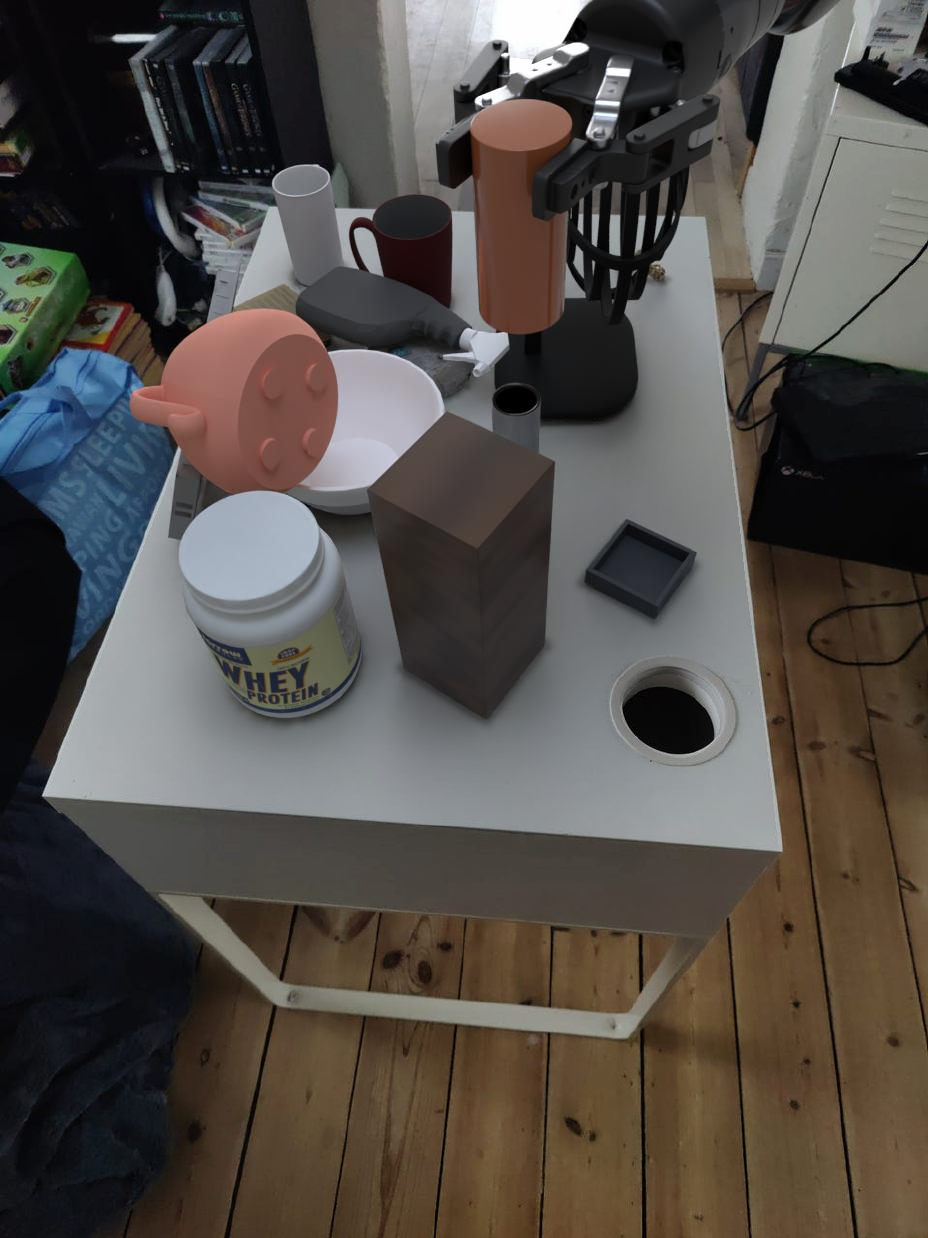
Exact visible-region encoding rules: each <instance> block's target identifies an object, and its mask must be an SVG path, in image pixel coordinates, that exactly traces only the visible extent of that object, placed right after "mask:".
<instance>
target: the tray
mask: <svg viewBox="0 0 928 1238" xmlns="http://www.w3.org/2000/svg"><path fill="white" fill-rule="evenodd" d="M697 554H698V553H697V551H695V550H693V549H691V548H689V547H687V546H685V545H684V544H681V543H679V542H677V541H675V540H672V539H671V538H668V537H667V536H664V535H662V534H660V533H658V532H656V531H654V530H652V529H649V528H647V527H645V526H644V525H641V524H639V523H637V522H635V521H633V520H631V519H629V518H625V519H624V521H623V522H621V525H620V526H619V527H618V528H617V529H616V530H615V532H614V533H613V535H612V536H611V537H610V539H608V541H607V542H606V544H605V545H604V546H603V547H602V549H601V550H600V551H599V552H598V553H597V555H596V556H595V557H594V559H593V560H592V562H590V564H589V565H588V566H587V568H586V569H585V574H584V584H586V585H588V586H590V587H592V588H593V589H596V590H597V591H599V592H601V593H603V594H605V595H607V596H609V597H611V598H613V599H615V600H617V601H618V602H620V603H622V604H624V605H627V606H628V607H630V608H632V609H634V610H636V611H638V612H640V613H642V614H644V615H645V616H648V617H649V618H651V619H653V620H656V618H657V617H658V616H659V615H660V613H661V611H662V610H663V609H664V608H665V607H666V604H667V603H668V602H669V600H670V599H671V598H672V596H673V595H674V594H675V592H676V590H677V589H678V588H679V586H680V585H681V583H682V582H683V580H684V579H685V578H686V576H687V575H688V573H689V572H690V571H691V569H692V568H693V567H694V564H695V561H696V560H695V559H696V558H697Z"/></svg>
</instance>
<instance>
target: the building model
mask: <svg viewBox="0 0 928 1238" xmlns="http://www.w3.org/2000/svg"><path fill="white" fill-rule="evenodd" d="M242 258H243V253H242V252H239V256H238V260H237V266H236V271H230V270H226V269H223V268H218V269H217V273H216V278H215V283H214V287H213V292H212V296H211V301H210V305H209V310H208V315H207V320H206V324H207V323H209V322H210V321H212V320H214V319H216V318H218V317H221V316H223V315H226V314H229V313H233V308H234V307H235V301H236V295H237V288H238V283H239V276H240V270H241V265H242V260H243V259H242ZM179 453H180V454H179V459H178V461H177V462H178V463H177V468H176V472H175V478H174V484H173V485H174V486H173V493H172V502H171V509H170V510H171V511H170V518H169V527H168V534H167V538H168V539H173V540H178V541H181V539H182V537H183V535H184V533H185V531H186V529H187V528H188V526H189V525H190V523H191V522H192V521H193V520H194V519H195V518H196V514H197V509H198V503H199V499H200V494H201V488H202V484H203V479H204V476H203V475H202V474H201V473H200V472H199V471H198V470H197V469H196V468H195V467H194V466H193V465H192V464H191V463H190V462H189V460H188V459H187V458H186V456H185V455H184V454H183V452H182V451H181V450H180V452H179Z"/></svg>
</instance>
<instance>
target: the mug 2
mask: <svg viewBox="0 0 928 1238" xmlns="http://www.w3.org/2000/svg"><path fill="white" fill-rule="evenodd" d="M359 228H362V229H366V230H368V231H369V232H371V234H372V236H373V237H374V240H375V245H376V249H377V254H378V258H379V262H380V267H381V271H382V276H384V277H387V278H390V279H392V280H395V281H398V282H401V283H403V284H406V285H409V286H411V287H413V288H415V289H417V290H419V291H421V292H423V293H425V294H427V295H429V296H431V297H433V298H434V299H435V300H437V301H438V302H439V303H440V304H442V305H443V306H445V307H446V308H448V309H449V308H450V306H451V304H452V286H453V285H452V284H453V243H454V242H453V239H454V238H453V236H454V235H453V212H452V209H451V207H450V206H449V205H448V203H446V202H445V201H444V200H443V199H440V198H438V197H435V196H432V195H428V194H406V195H401V196H397V197H394V198H391V199H388V200H386V201H385V202H383V203H381V204H380V205H379V206H378V207H377V208H376V209H375V211H374V213H373V214H372V220H371V219H370V218H369V217H365V216H358V217H356V218H354V219H353V220H352V222H351V223H350V226H349V229H348V242H349V246H350V250H351V253H352V254H351V255H352V257H353V258H354V261H355V262H354V263H355V264H356V267H357V269H359V270H363V271H366V272H370V273H371V271H370V270H369V269H368V267H367V266H366V263H365V262H364V260H363V258H362V256H361V254H360V251H359V247H358V244H357V241H356V236H355V230H356V229H359Z"/></svg>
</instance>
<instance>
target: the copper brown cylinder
mask: <svg viewBox="0 0 928 1238" xmlns="http://www.w3.org/2000/svg"><path fill="white" fill-rule="evenodd" d="M572 125H573V124H572V119H571V116H570V115H569V114H568V112H567V111H565V110H564V109H563V108H561V107H559V106H557V105H555V104H552V103H549V102H545V101H540V100H532V99H519V100H510V101H504V102H500V103H497V104H494V105H491V106H489V107H487V108H485V109H483V110H482V111H480V112H479V113H478V114H477V115H476V116H475V117H474V118H473V120H472V122H471V125H470V138H471V158H472V176H471V177H472V195H473V196H472V197H473V215H474V218H473V219H474V237H475V255H476V256H475V259H476V277H477V294H478V295H477V297H478V311H479V315H480V317H481V319H482V321H483V322H484V323H485V324H486V325H488V326H489V327H491V328H492V329H494V330H495V331H496V330H498V331H501V332H505V333H510V334H530V333H535V332H539V331H542V330H544V329H547V328H549V327H550V326H552V325H553V324H555V323H556V322H557V321H558V320H559V319H560V317H561V316H562V314H563V311H564V302H565V298H566V277H567V275H566V274H567V263H566V258H567V236H568V213H569V211H566V212H564V213H562V214H558V213H557V214H556V215H555V216H554V217H553V218H551V219H550V220H549V221H544V220H541V219H538V218H535V217H533V215H532V183H533V178H534V176H535V174H536V172H537V171H538V170H539V169H540V168H541V167H542V166H543V165H545V164H546V163H547V162H548V161H549V160H550V159H552V158H553V157H554V156H555V155H556V154H557V153H559V152H560V151H561V150H562V149H563V148H564V147H565V146H567V145H568V144H569V143H570V142H571V141H572Z"/></svg>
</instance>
